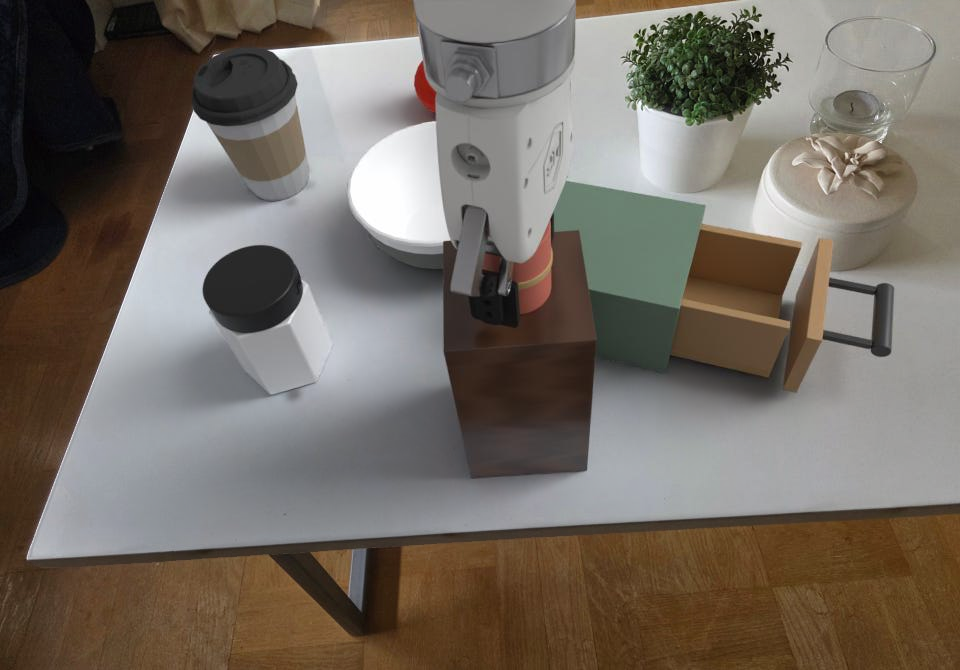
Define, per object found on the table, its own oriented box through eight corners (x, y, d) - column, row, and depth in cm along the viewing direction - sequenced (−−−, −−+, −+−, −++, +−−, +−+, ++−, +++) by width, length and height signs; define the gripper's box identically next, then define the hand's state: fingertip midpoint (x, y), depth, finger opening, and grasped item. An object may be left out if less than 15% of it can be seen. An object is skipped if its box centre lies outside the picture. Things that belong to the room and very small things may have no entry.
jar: (349, 355, 72) (317, 275, 62) (284, 410, 69) (240, 334, 59) (294, 310, 76) (256, 227, 66) (230, 359, 73) (180, 280, 63)
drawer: (873, 309, 69) (905, 252, 62) (867, 409, 63) (901, 357, 56) (668, 268, 74) (678, 212, 68) (643, 357, 68) (652, 304, 61)
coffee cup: (252, 148, 92) (206, 39, 80) (337, 151, 91) (304, 41, 79) (219, 211, 86) (164, 103, 74) (311, 216, 84) (270, 106, 72)
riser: (574, 373, 68) (579, 229, 53) (587, 470, 62) (597, 339, 47) (468, 381, 69) (442, 240, 54) (470, 478, 63) (443, 351, 48)
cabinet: (690, 274, 74) (706, 204, 67) (665, 373, 67) (679, 308, 60) (552, 246, 78) (552, 177, 70) (515, 337, 71) (510, 272, 64)
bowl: (531, 297, 74) (529, 241, 68) (351, 301, 76) (332, 246, 69) (531, 174, 85) (529, 115, 79) (374, 179, 87) (359, 122, 80)
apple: (472, 130, 91) (466, 78, 85) (411, 126, 92) (401, 75, 87) (485, 91, 96) (480, 39, 90) (426, 88, 97) (418, 37, 91)
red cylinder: (562, 267, 51) (562, 204, 46) (540, 324, 48) (538, 263, 43) (492, 252, 52) (485, 190, 48) (466, 307, 50) (457, 246, 45)
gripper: (514, 164, 30) (528, 395, 44) (616, -46, 39) (600, 201, 53) (350, 136, 32) (414, 366, 46) (484, -58, 41) (503, 183, 55)
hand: (514, 276), depth 49 cm, fingers open, 6 cm apart
